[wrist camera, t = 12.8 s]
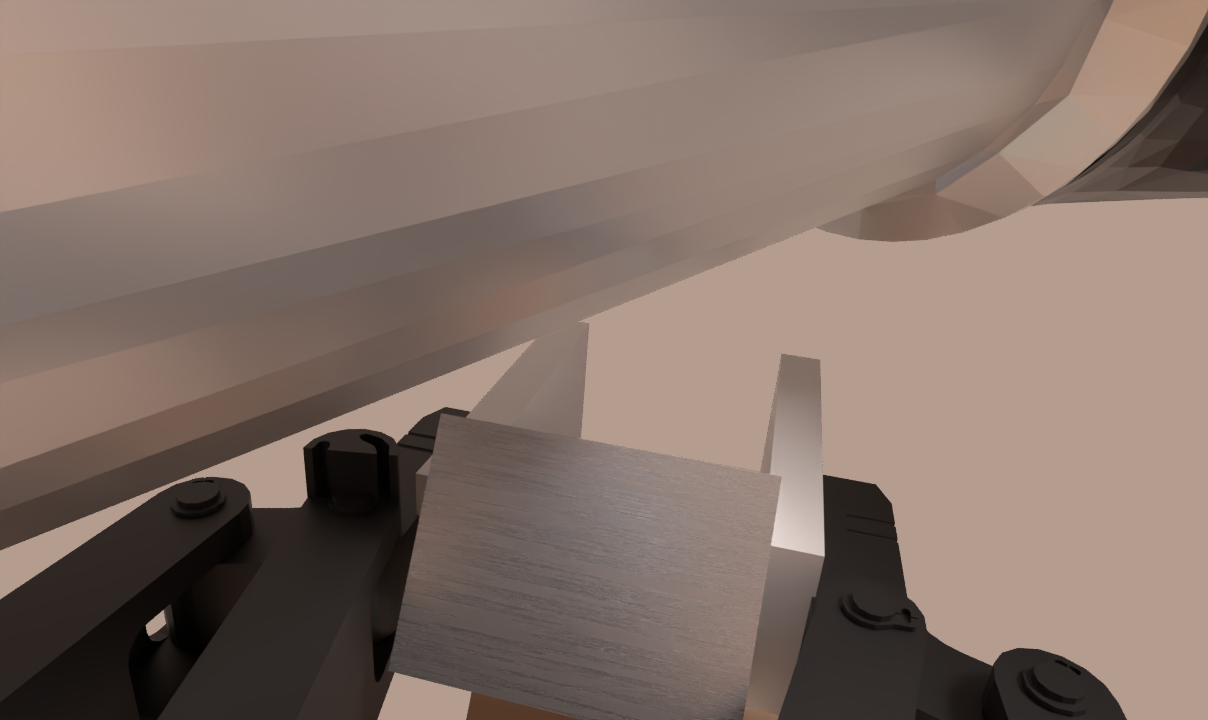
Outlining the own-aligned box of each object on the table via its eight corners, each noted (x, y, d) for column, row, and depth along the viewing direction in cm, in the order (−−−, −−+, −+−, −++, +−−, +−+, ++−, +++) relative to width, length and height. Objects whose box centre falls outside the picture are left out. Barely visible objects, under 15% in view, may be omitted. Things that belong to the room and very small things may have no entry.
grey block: (641, 524, 33) (653, 452, 33) (738, 544, 32) (750, 470, 32) (388, 670, 9) (441, 413, 9) (736, 758, 8) (781, 476, 9)
